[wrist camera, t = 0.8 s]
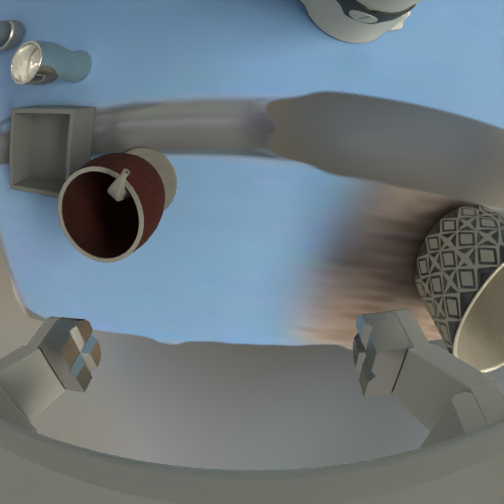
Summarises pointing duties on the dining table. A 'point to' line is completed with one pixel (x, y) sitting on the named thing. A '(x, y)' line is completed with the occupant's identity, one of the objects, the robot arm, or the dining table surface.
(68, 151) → the bin
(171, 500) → the robot arm
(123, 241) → the mate gourd
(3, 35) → the plastic bottle
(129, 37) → the dining table surface
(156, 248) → the dining table surface
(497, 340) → the planter
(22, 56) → the beer glass
